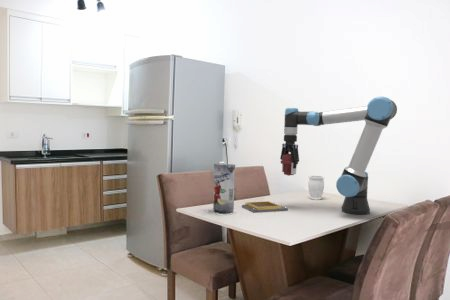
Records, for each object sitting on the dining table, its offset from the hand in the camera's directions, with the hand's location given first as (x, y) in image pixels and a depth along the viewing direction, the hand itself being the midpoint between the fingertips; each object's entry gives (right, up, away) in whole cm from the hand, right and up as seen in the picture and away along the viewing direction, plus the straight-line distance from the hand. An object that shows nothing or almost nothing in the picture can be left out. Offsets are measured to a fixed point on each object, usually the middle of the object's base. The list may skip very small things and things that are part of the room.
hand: (288, 172), depth 216 cm
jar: (+24, -20, +34) cm, 46 cm away
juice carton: (-38, -20, -16) cm, 46 cm away
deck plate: (-15, -20, -6) cm, 26 cm away
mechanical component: (0, -1, 0) cm, 1 cm away
